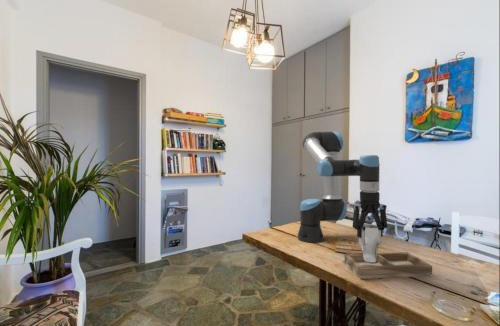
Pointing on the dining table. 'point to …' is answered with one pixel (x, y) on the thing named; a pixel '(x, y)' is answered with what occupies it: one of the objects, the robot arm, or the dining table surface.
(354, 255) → the tray
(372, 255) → the metal cup
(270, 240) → the dining table surface
